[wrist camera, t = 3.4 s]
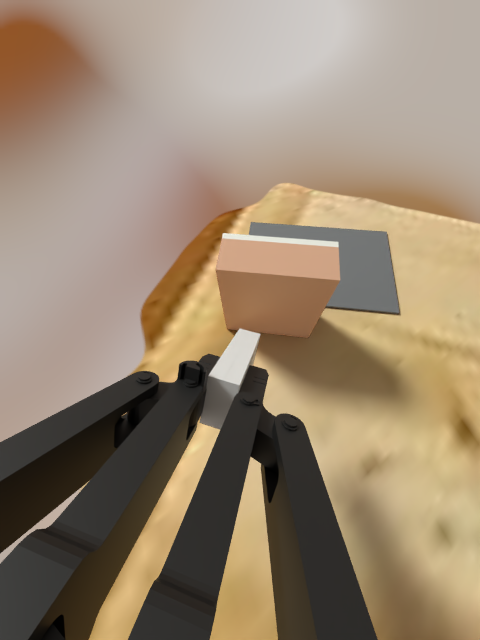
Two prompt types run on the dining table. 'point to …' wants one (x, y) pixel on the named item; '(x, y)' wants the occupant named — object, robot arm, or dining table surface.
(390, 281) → the mat
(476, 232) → the dining table surface
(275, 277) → the tan and white box
